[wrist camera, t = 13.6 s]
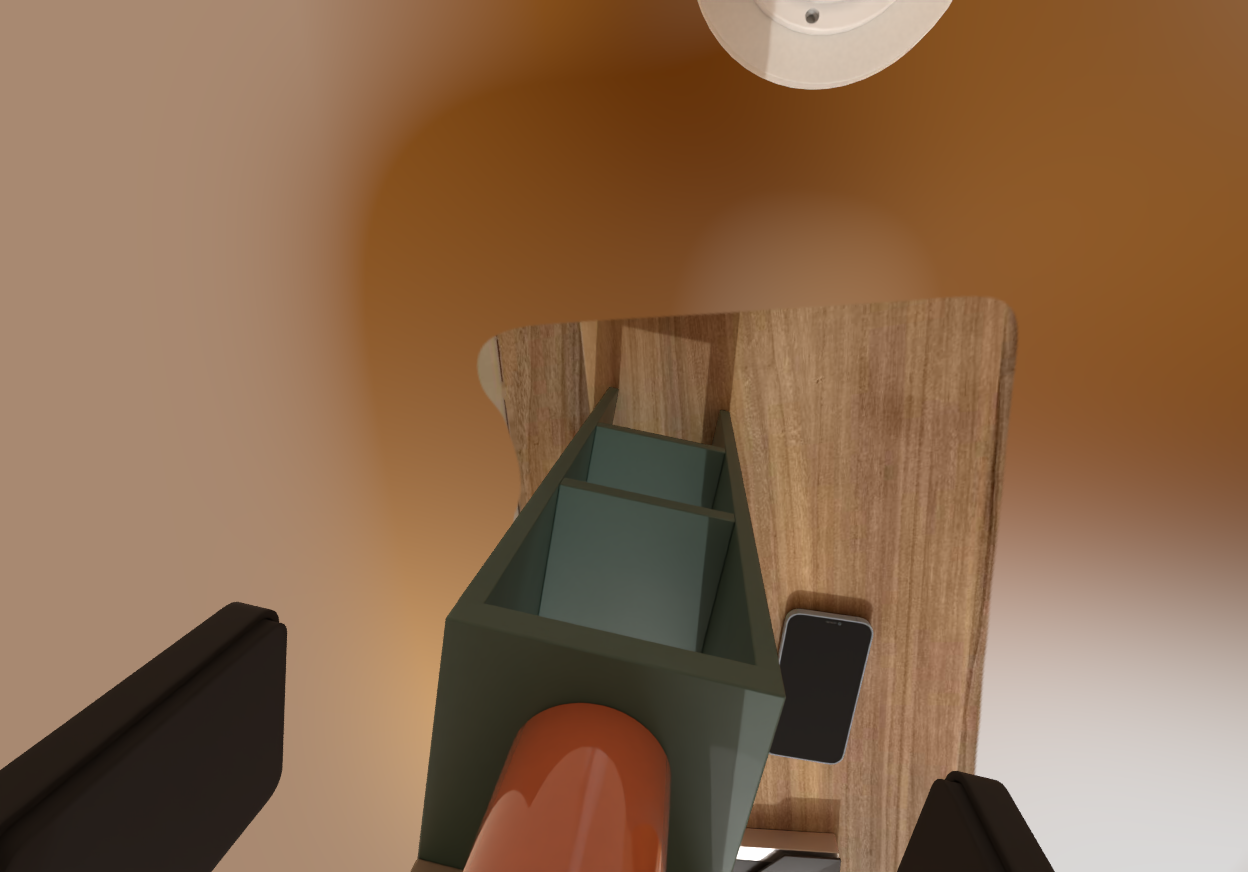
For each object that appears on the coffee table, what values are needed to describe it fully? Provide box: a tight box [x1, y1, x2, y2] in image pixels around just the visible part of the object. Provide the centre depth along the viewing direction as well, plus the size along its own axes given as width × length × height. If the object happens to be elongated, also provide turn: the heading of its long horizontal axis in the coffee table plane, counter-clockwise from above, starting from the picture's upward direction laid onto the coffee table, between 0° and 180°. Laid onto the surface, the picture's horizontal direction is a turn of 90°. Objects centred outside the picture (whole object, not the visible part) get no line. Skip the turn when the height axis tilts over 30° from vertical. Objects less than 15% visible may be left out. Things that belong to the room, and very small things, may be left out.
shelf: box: [411, 387, 786, 872], centre depth 31 cm, size 10×10×46 cm
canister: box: [462, 702, 671, 872], centre depth 16 cm, size 5×5×6 cm
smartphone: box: [769, 609, 873, 764], centre depth 56 cm, size 7×1×15 cm
